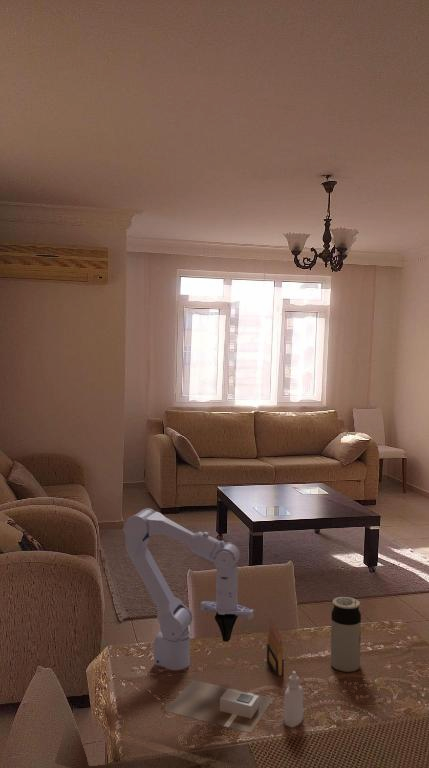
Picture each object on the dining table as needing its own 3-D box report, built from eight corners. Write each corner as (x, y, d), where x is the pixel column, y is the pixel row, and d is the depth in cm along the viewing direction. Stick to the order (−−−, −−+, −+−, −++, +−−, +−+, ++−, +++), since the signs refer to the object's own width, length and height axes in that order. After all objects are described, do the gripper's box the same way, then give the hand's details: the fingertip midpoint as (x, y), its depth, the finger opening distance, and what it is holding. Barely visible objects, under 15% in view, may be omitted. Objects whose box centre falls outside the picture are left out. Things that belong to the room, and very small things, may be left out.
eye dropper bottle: (278, 719, 156) (278, 670, 155) (298, 714, 158) (299, 665, 158) (288, 729, 152) (288, 678, 151) (308, 723, 154) (309, 673, 154)
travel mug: (327, 669, 180) (328, 604, 179) (333, 656, 188) (334, 594, 187) (357, 675, 177) (358, 609, 176) (362, 661, 185) (363, 598, 184)
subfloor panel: (164, 714, 158) (164, 710, 158) (193, 683, 172) (193, 679, 172) (250, 737, 149) (250, 733, 149) (273, 702, 164) (273, 698, 164)
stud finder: (219, 710, 158) (219, 697, 158) (227, 700, 162) (227, 687, 162) (251, 718, 155) (251, 705, 154) (258, 707, 159) (258, 695, 159)
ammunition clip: (283, 679, 175) (284, 634, 174) (277, 679, 175) (277, 635, 174) (273, 660, 186) (273, 618, 185) (266, 660, 185) (267, 618, 185)
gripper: (195, 591, 175) (195, 641, 176) (246, 599, 169) (246, 651, 170) (206, 582, 182) (206, 630, 182) (256, 590, 176) (256, 640, 177)
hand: (226, 640), depth 177 cm, fingers closed
